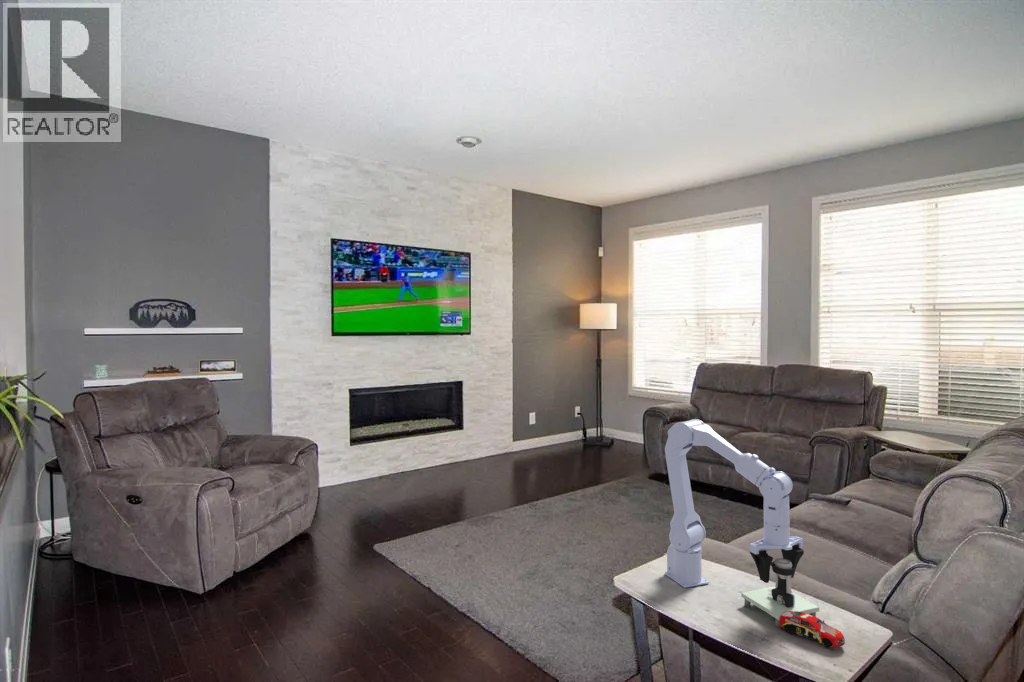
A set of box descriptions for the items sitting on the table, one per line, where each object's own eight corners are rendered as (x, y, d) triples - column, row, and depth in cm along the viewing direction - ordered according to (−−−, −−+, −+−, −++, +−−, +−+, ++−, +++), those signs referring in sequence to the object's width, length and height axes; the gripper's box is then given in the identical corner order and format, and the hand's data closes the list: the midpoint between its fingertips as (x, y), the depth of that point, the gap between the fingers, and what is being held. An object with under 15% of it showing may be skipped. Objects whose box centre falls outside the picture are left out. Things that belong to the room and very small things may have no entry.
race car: (849, 644, 117) (848, 625, 117) (838, 653, 114) (838, 634, 114) (787, 620, 127) (787, 603, 127) (776, 627, 124) (775, 610, 124)
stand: (741, 604, 135) (741, 592, 135) (779, 596, 139) (779, 585, 139) (779, 629, 124) (779, 616, 124) (819, 619, 128) (819, 607, 128)
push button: (761, 598, 132) (761, 557, 132) (775, 593, 135) (775, 553, 135) (786, 610, 127) (786, 567, 126) (800, 604, 129) (800, 563, 129)
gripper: (765, 532, 126) (765, 590, 126) (813, 524, 131) (813, 581, 131) (743, 522, 133) (743, 577, 133) (789, 515, 137) (790, 569, 137)
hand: (776, 578), depth 132 cm, fingers open, 7 cm apart
